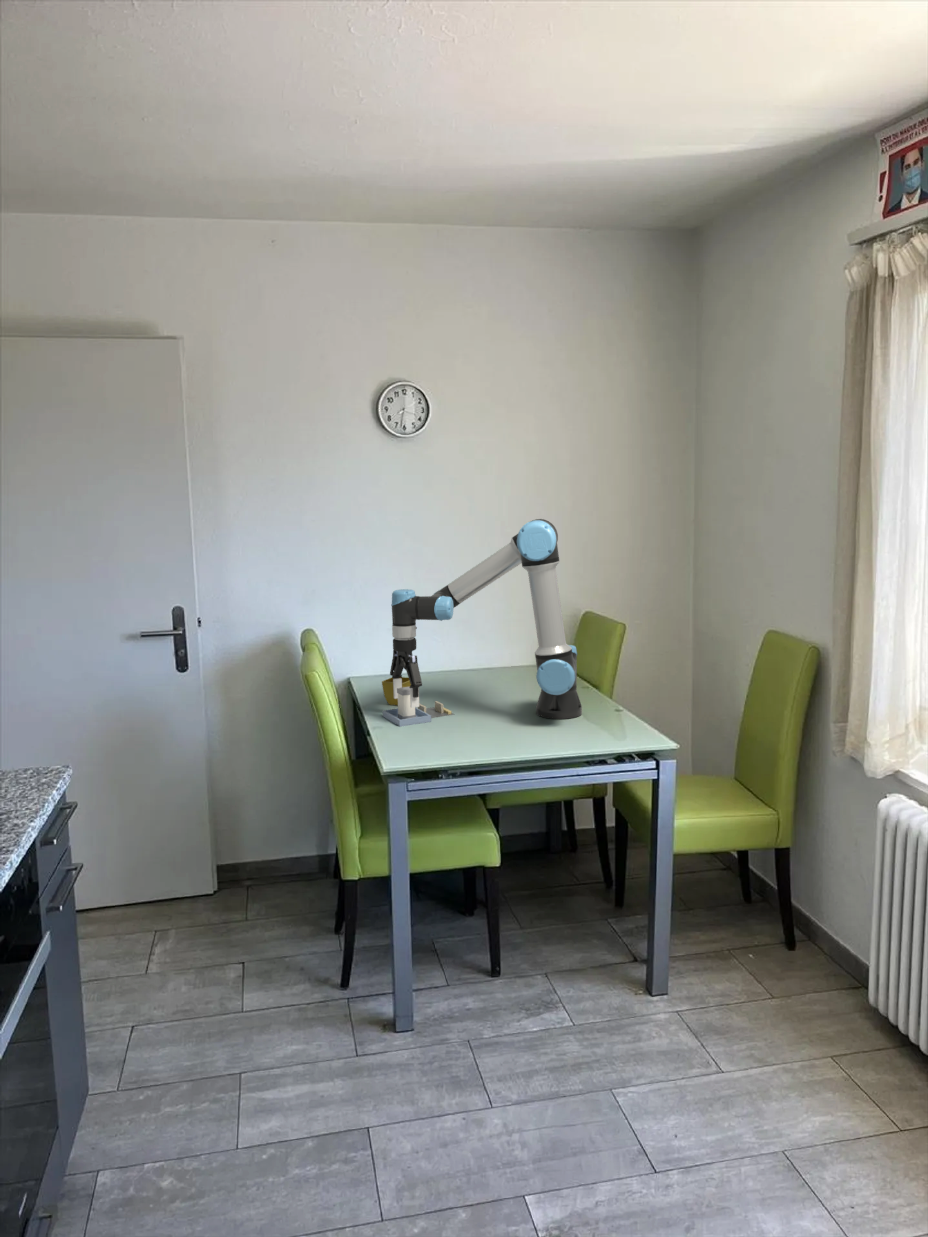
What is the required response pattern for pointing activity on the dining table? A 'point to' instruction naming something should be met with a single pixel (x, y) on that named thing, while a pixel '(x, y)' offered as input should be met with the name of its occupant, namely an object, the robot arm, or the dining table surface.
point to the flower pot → (389, 689)
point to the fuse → (405, 704)
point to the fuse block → (436, 710)
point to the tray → (420, 718)
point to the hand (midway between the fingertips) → (406, 702)
